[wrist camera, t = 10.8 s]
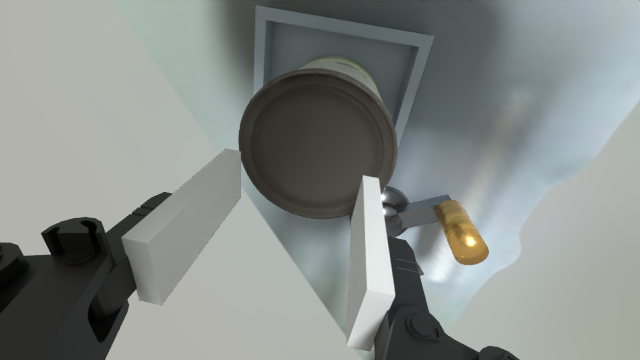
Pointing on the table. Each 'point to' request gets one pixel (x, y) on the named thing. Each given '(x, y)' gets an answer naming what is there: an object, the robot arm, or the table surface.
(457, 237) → the crank
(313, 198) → the coffee can
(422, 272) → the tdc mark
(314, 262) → the table surface
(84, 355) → the robot arm
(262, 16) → the tray
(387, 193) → the crank base
